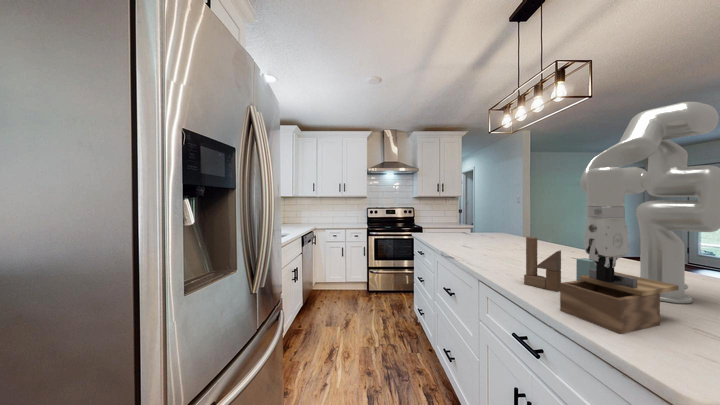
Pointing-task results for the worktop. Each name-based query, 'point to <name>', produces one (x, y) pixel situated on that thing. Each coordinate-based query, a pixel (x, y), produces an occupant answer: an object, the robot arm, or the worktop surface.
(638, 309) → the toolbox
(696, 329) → the worktop surface
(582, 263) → the teal rectangular block
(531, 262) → the wooden block structure
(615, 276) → the lid
